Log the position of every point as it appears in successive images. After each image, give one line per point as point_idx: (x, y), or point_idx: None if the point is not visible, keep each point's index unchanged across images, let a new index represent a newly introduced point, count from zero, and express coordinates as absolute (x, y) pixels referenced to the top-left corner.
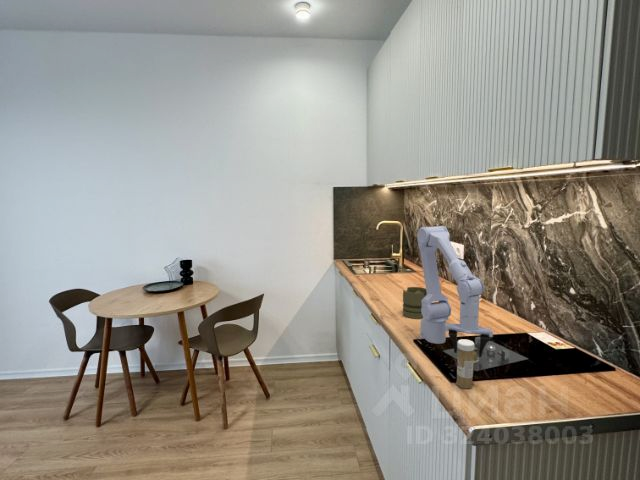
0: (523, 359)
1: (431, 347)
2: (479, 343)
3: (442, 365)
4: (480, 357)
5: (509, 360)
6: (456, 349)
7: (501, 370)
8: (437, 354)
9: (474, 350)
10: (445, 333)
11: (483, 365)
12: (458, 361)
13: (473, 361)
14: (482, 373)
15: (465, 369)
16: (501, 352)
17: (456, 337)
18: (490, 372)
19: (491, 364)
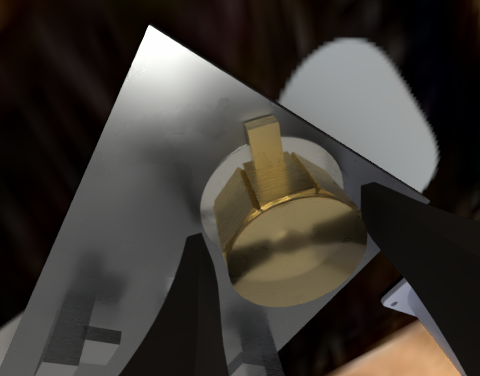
0: (4, 368)
1: (471, 219)
2: (253, 361)
3: (419, 12)
4: None
5: (52, 321)
6: (379, 200)
7: (38, 205)
8: (445, 162)
9: (242, 250)
10: (444, 339)
11: (145, 169)
12: None
13: (226, 180)
14: (114, 72)
15: None
16: (81, 349)
17: (458, 295)
18: (76, 129)
19: (107, 216)
